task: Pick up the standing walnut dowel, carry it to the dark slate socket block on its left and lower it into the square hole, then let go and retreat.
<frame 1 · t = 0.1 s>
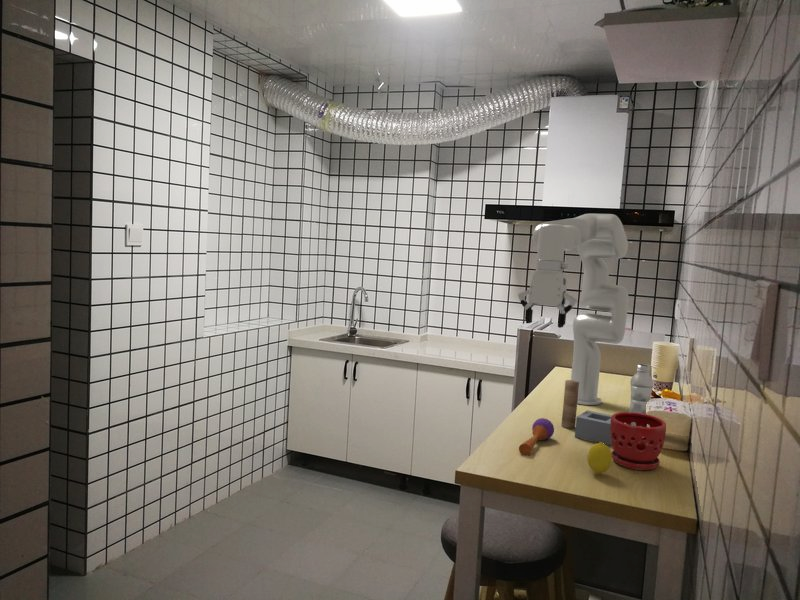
hand: (544, 325, 178), 31 cm above the table, tool pointing down, fingers open, 9 cm apart
purple maraca: (535, 446, 166), on the table
peg: (568, 426, 185), on the table
plastic bottle: (637, 429, 187), on the table
socket: (597, 437, 176), on the table
lemon: (597, 475, 146), on the table
plant pot: (633, 465, 155), on the table
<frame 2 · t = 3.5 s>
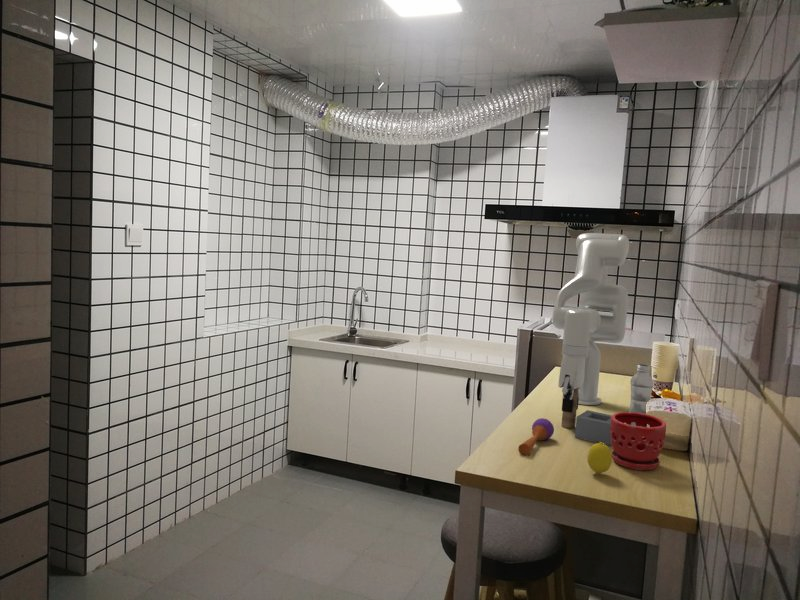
hand: (569, 409, 184), 5 cm above the table, tool pointing down, fingers closed on peg, 4 cm apart
peg: (568, 426, 185), on the table, touching gripper
everything else where it was.
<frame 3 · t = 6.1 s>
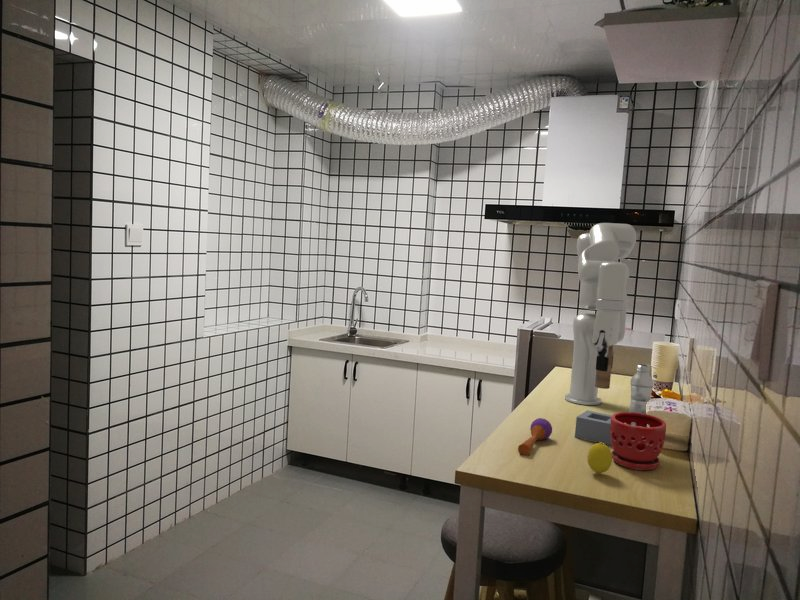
hand: (603, 368, 174), 20 cm above the table, tool pointing down, fingers closed on peg, 4 cm apart
peg: (602, 387, 174), point 15 cm above the table, touching gripper
everything else where it was.
when the fingers open (8 cm above the table, at t = 8.7 s): peg stays where it is, resting on socket.
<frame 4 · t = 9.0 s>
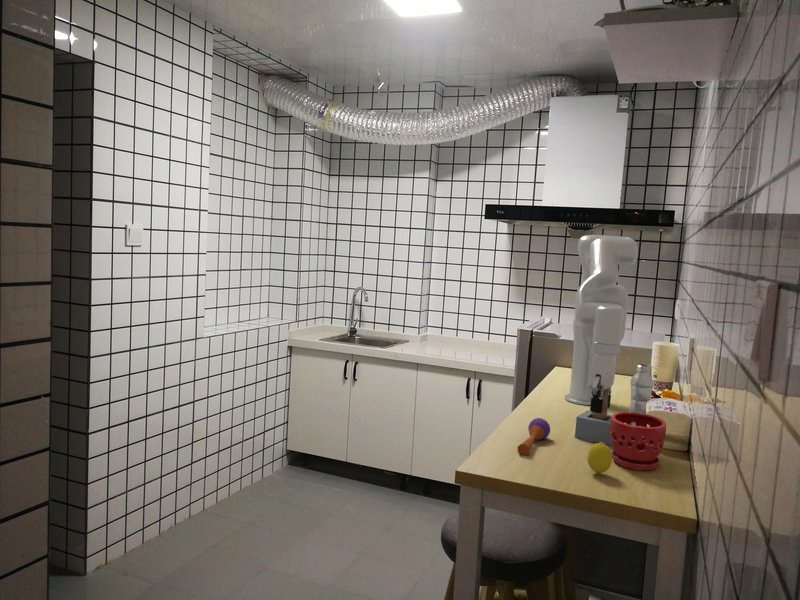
hand: (600, 409, 175), 8 cm above the table, tool pointing down, fingers open, 7 cm apart
peg: (597, 432, 176), point 2 cm above the table, touching socket
everything else where it was.
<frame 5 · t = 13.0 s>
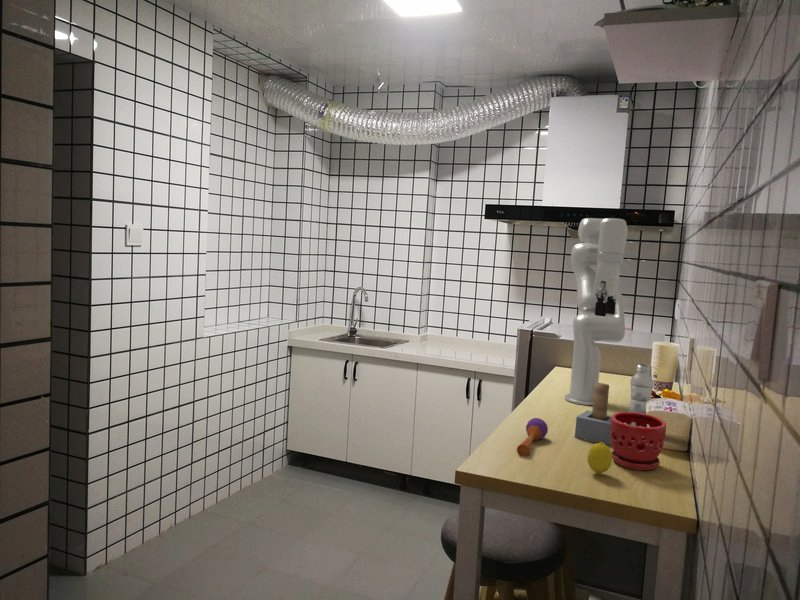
hand: (604, 314, 187), 34 cm above the table, tool pointing down, fingers open, 9 cm apart
at the end: peg 0.1 cm off-centre on the socket, point 1.5 cm above the socket's base; peg tilted 1°; the gripper is holding nothing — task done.
